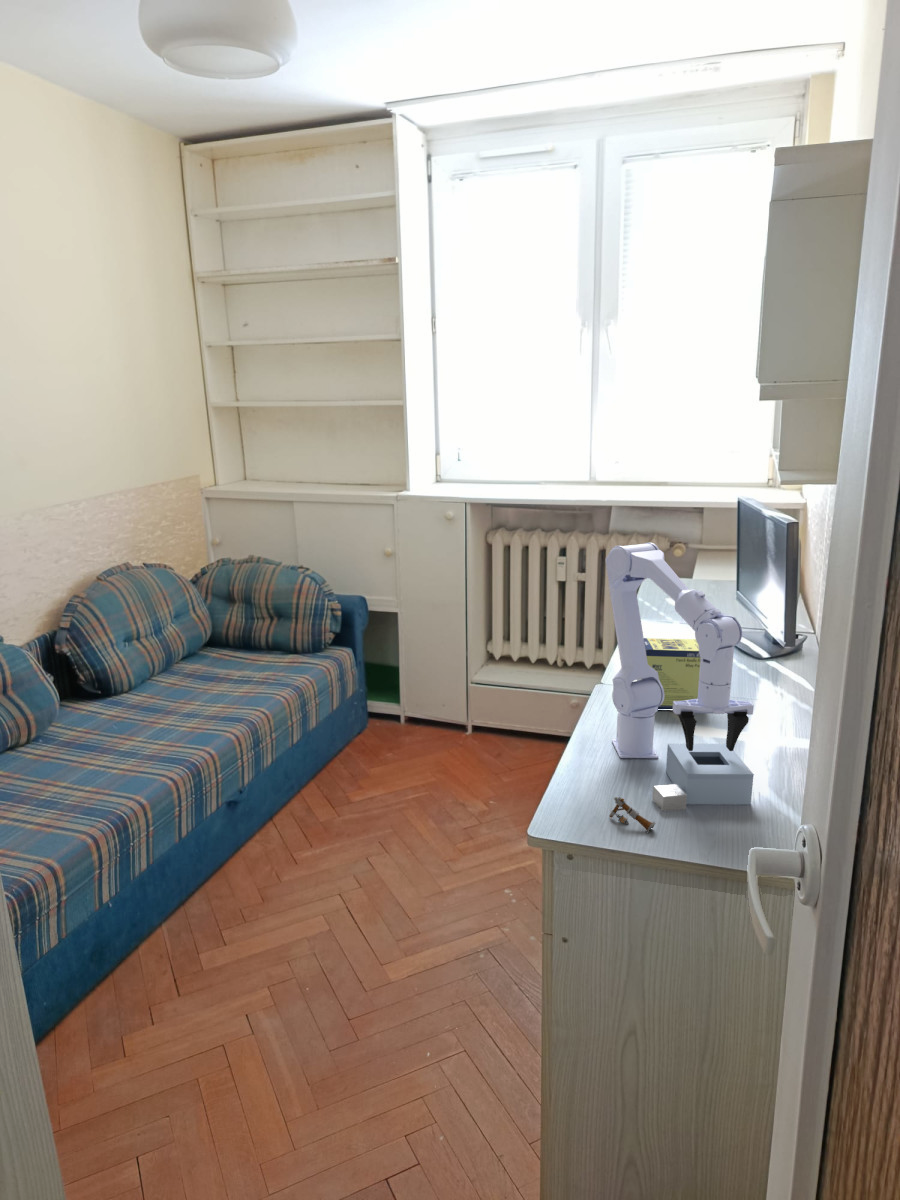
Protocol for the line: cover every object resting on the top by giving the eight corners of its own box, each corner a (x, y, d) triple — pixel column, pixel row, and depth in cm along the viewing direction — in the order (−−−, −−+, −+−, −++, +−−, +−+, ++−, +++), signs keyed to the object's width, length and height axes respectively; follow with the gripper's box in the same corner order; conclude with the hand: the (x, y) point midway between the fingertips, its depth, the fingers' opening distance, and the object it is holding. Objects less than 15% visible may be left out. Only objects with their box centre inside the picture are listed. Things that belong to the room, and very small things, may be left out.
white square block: (652, 800, 152) (653, 785, 151) (675, 799, 152) (676, 784, 152) (662, 812, 147) (663, 796, 147) (685, 810, 148) (687, 794, 147)
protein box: (707, 712, 196) (712, 650, 192) (641, 711, 197) (645, 649, 193) (697, 698, 206) (701, 638, 202) (634, 696, 207) (638, 637, 203)
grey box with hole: (665, 771, 163) (667, 743, 162) (725, 771, 163) (728, 743, 162) (685, 804, 150) (687, 774, 148) (750, 804, 150) (753, 774, 148)
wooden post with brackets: (608, 810, 146) (618, 792, 143) (645, 840, 142) (656, 821, 140) (603, 814, 144) (614, 795, 142) (640, 844, 140) (652, 825, 138)
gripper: (681, 687, 148) (676, 757, 151) (761, 687, 148) (755, 757, 151) (671, 675, 155) (667, 742, 158) (748, 675, 155) (742, 742, 158)
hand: (709, 748), depth 155 cm, fingers open, 7 cm apart
